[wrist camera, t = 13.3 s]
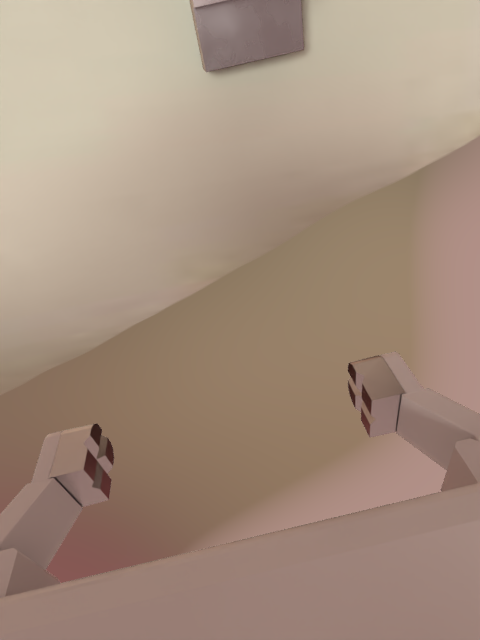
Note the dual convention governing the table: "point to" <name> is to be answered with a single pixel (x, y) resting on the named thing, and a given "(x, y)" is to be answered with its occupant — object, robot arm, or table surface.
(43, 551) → the robot arm
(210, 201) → the table surface
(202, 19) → the grey base with post
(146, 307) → the table surface
